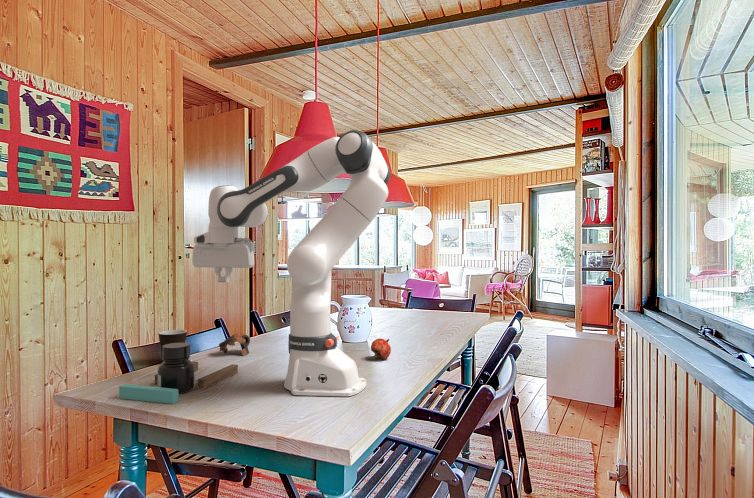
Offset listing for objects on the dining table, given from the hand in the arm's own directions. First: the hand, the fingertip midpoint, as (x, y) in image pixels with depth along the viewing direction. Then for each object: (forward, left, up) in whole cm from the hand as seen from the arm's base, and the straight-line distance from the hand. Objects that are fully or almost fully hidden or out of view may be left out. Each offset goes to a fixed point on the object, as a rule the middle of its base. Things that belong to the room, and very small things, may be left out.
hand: (223, 282), depth 141 cm
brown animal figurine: (+7, -19, -28) cm, 34 cm away
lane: (+1, +11, -27) cm, 29 cm away
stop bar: (+1, +30, -27) cm, 40 cm away
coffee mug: (+21, -4, -27) cm, 35 cm away
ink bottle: (0, +22, -27) cm, 35 cm away
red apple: (-44, -25, -27) cm, 58 cm away
